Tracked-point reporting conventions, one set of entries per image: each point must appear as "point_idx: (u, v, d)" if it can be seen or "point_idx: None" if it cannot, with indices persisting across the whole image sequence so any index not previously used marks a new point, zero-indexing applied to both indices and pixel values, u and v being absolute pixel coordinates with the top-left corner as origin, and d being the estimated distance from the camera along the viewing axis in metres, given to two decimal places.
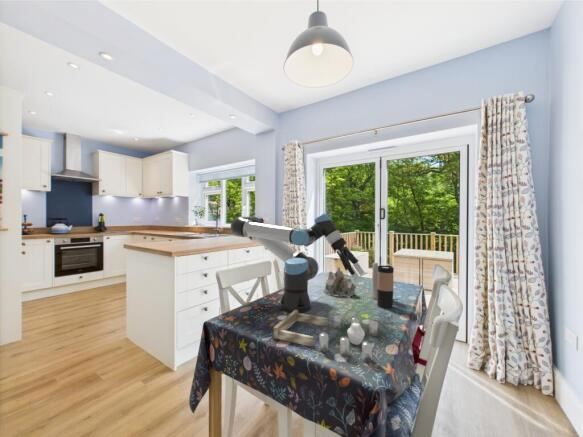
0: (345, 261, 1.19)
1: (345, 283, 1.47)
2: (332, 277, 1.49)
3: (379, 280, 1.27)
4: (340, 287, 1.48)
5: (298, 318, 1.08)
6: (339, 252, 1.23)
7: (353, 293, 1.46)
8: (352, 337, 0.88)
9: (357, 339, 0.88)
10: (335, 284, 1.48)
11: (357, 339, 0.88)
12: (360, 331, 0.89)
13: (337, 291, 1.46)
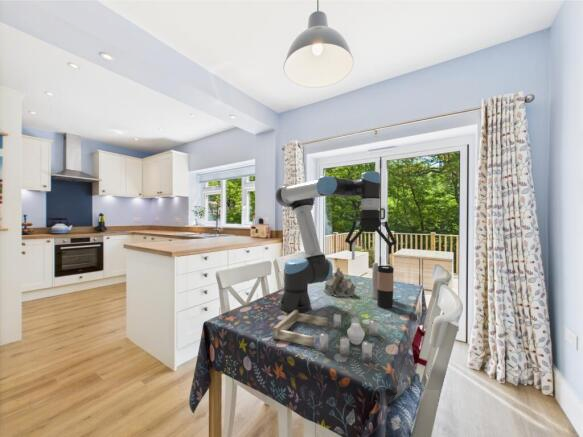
0: (348, 235, 1.08)
1: (345, 283, 1.46)
2: (332, 277, 1.49)
3: (379, 280, 1.27)
4: (340, 287, 1.48)
5: (298, 318, 1.08)
6: None
7: (353, 293, 1.45)
8: (352, 337, 0.88)
9: (357, 339, 0.88)
10: (335, 284, 1.47)
11: (357, 339, 0.88)
12: (360, 331, 0.89)
13: (337, 291, 1.46)
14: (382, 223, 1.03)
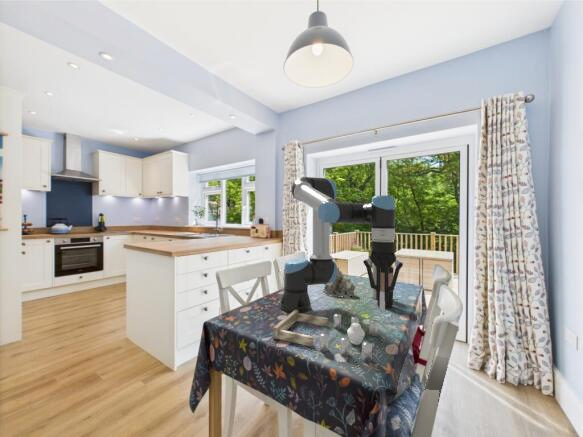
0: None
1: (344, 283, 1.46)
2: None
3: None
4: (339, 287, 1.47)
5: (298, 318, 1.08)
6: None
7: (352, 293, 1.45)
8: (352, 337, 0.88)
9: (357, 339, 0.88)
10: (334, 284, 1.47)
11: (357, 339, 0.88)
12: (360, 331, 0.89)
13: (336, 291, 1.45)
14: (396, 262, 0.85)
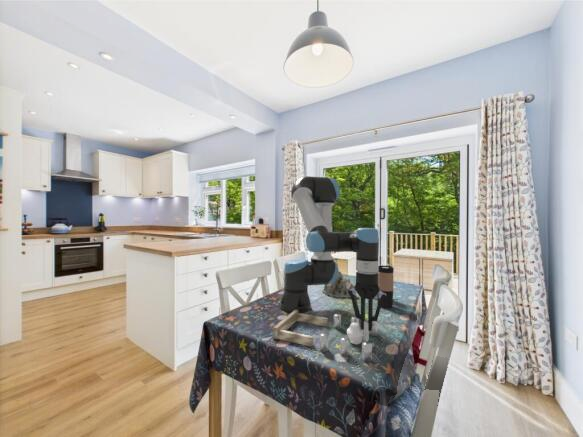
0: None
1: (344, 284, 1.45)
2: None
3: (379, 280, 1.27)
4: (339, 288, 1.46)
5: (298, 318, 1.08)
6: None
7: None
8: (352, 337, 0.88)
9: (357, 339, 0.88)
10: (334, 285, 1.46)
11: (357, 339, 0.88)
12: (359, 330, 0.89)
13: (336, 292, 1.45)
14: (380, 293, 0.87)
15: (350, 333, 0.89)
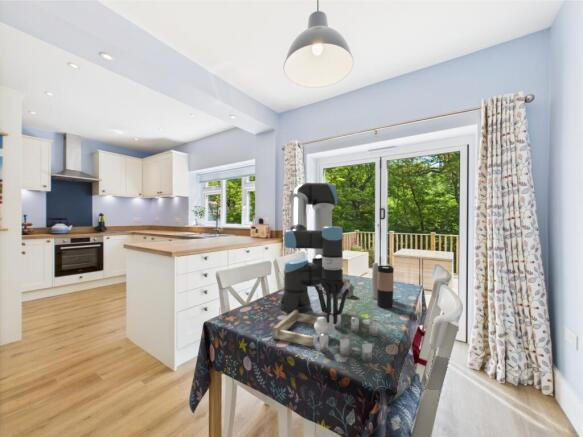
0: None
1: None
2: None
3: (379, 280, 1.27)
4: None
5: (298, 318, 1.08)
6: None
7: (352, 294, 1.44)
8: (318, 330, 0.93)
9: (323, 331, 0.92)
10: None
11: None
12: (325, 323, 0.93)
13: None
14: (343, 288, 0.92)
15: (316, 327, 0.93)
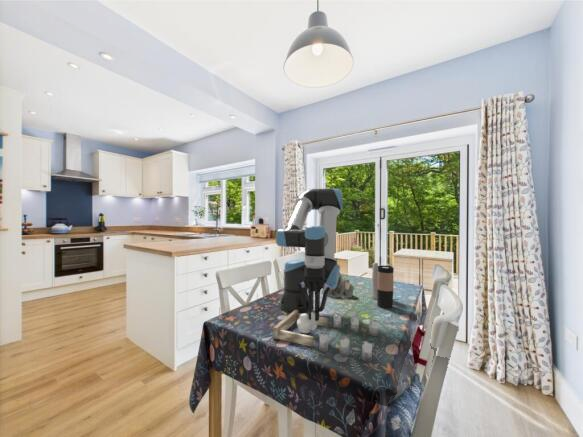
0: None
1: (343, 284, 1.44)
2: None
3: (379, 280, 1.27)
4: (338, 288, 1.46)
5: (298, 318, 1.08)
6: None
7: (351, 294, 1.44)
8: (300, 326, 0.96)
9: (304, 328, 0.95)
10: None
11: (304, 328, 0.95)
12: (307, 320, 0.96)
13: (335, 292, 1.44)
14: (325, 286, 0.95)
15: (298, 323, 0.96)
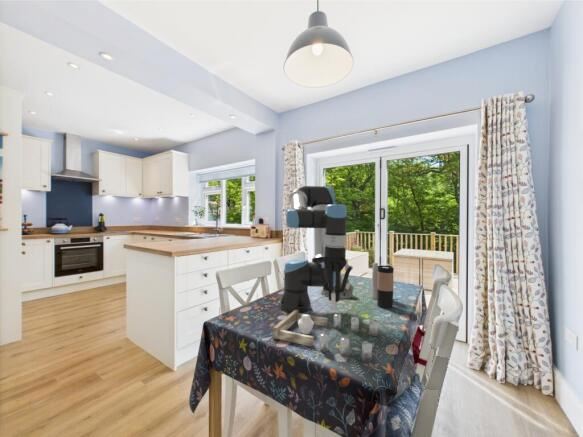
0: None
1: None
2: None
3: (379, 280, 1.27)
4: None
5: (298, 318, 1.08)
6: None
7: (351, 294, 1.43)
8: (301, 327, 0.96)
9: (305, 329, 0.95)
10: None
11: (305, 329, 0.95)
12: (308, 321, 0.96)
13: None
14: (346, 266, 0.92)
15: (300, 323, 0.96)
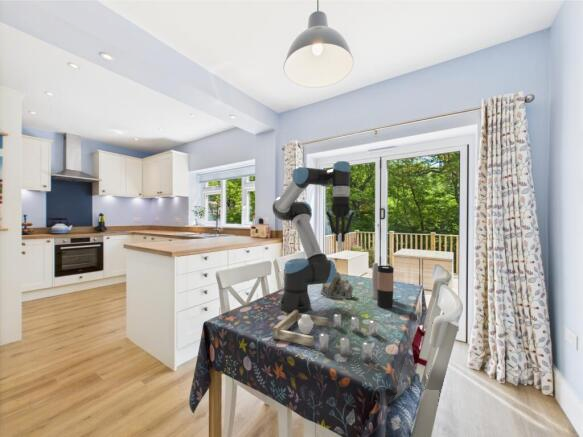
0: None
1: (342, 284, 1.43)
2: None
3: (379, 280, 1.27)
4: (337, 289, 1.44)
5: (298, 318, 1.08)
6: None
7: (350, 294, 1.43)
8: (301, 327, 0.96)
9: (305, 329, 0.95)
10: (332, 286, 1.44)
11: (305, 329, 0.95)
12: (308, 321, 0.96)
13: (334, 293, 1.43)
14: (350, 211, 1.12)
15: (300, 323, 0.96)
